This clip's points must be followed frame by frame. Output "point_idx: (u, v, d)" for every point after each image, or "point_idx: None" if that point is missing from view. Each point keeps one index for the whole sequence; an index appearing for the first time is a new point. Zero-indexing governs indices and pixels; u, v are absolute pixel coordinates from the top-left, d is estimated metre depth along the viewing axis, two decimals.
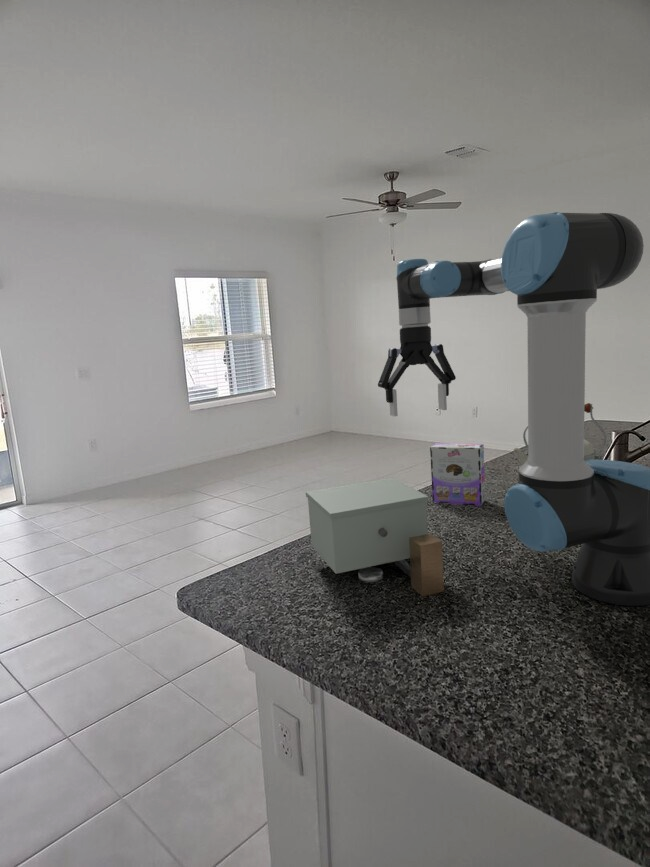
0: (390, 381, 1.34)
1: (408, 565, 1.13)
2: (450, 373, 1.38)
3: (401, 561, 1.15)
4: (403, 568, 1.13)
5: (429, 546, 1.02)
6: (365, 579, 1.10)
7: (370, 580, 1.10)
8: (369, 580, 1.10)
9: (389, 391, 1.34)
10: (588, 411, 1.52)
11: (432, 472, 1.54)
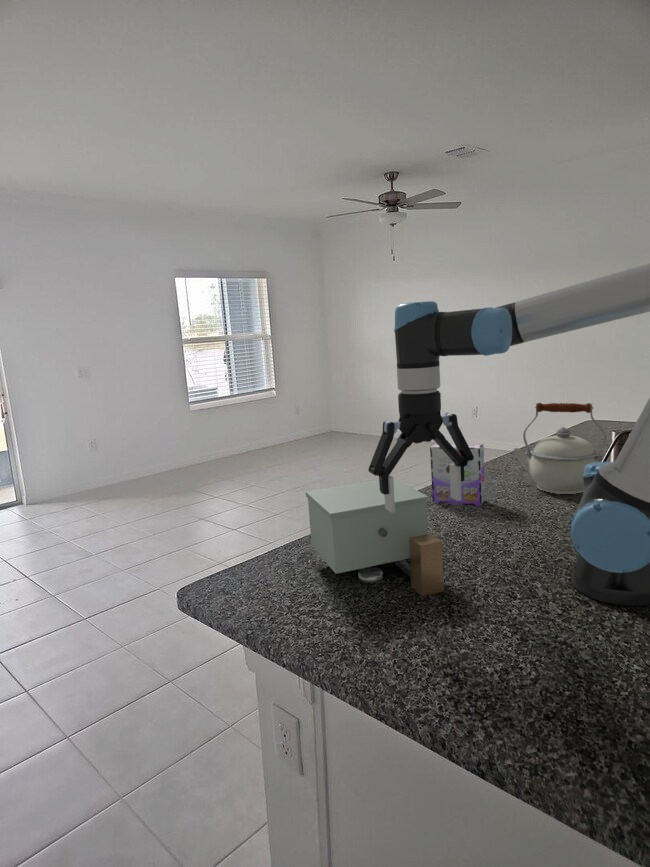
0: (385, 465, 0.99)
1: (408, 565, 1.13)
2: (466, 452, 1.03)
3: (401, 561, 1.15)
4: (403, 568, 1.13)
5: (429, 546, 1.02)
6: (365, 579, 1.10)
7: (370, 580, 1.10)
8: (369, 580, 1.10)
9: (384, 479, 0.99)
10: (588, 411, 1.52)
11: (432, 472, 1.54)
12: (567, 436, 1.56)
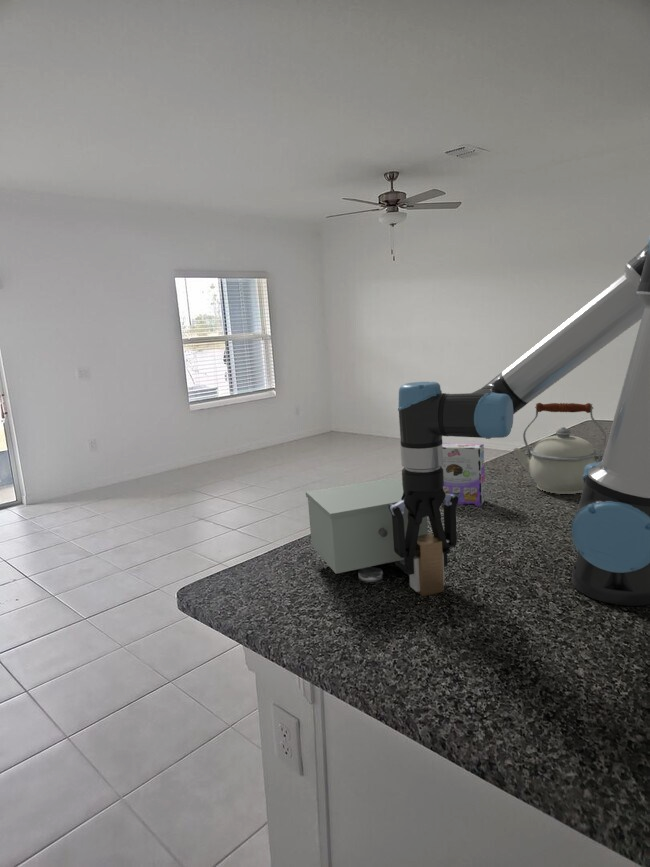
0: (407, 548, 1.02)
1: None
2: (452, 536, 1.04)
3: (401, 561, 1.15)
4: (403, 568, 1.13)
5: (429, 546, 1.02)
6: (365, 579, 1.10)
7: (370, 580, 1.10)
8: (369, 580, 1.10)
9: (409, 560, 1.02)
10: (588, 411, 1.52)
11: None
12: (567, 436, 1.56)
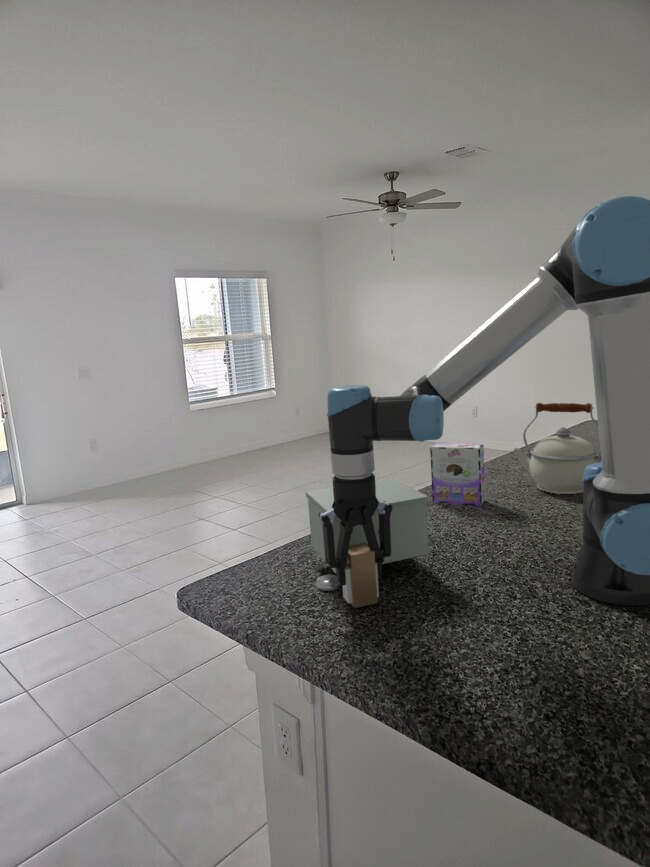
0: (338, 557, 0.98)
1: None
2: (386, 546, 1.00)
3: None
4: None
5: (360, 556, 0.98)
6: (322, 587, 1.08)
7: (327, 588, 1.08)
8: (326, 588, 1.08)
9: (340, 571, 0.99)
10: (588, 411, 1.52)
11: (432, 472, 1.54)
12: (567, 436, 1.56)
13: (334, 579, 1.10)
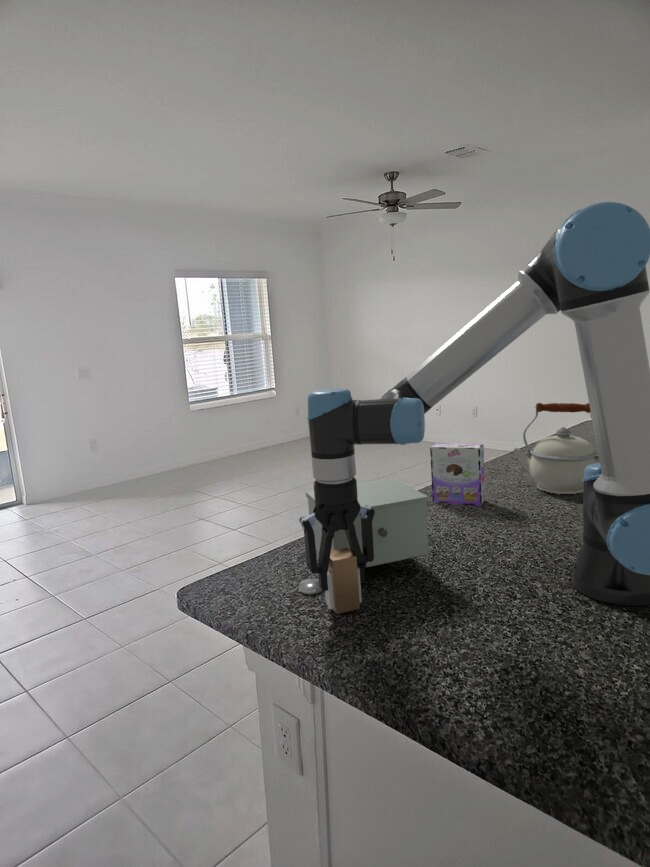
0: (320, 563, 0.97)
1: None
2: (369, 551, 0.99)
3: None
4: None
5: (342, 561, 0.96)
6: (303, 591, 1.07)
7: (308, 592, 1.07)
8: (307, 592, 1.07)
9: (322, 576, 0.97)
10: (588, 411, 1.52)
11: (432, 472, 1.54)
12: (567, 436, 1.56)
13: (317, 583, 1.09)
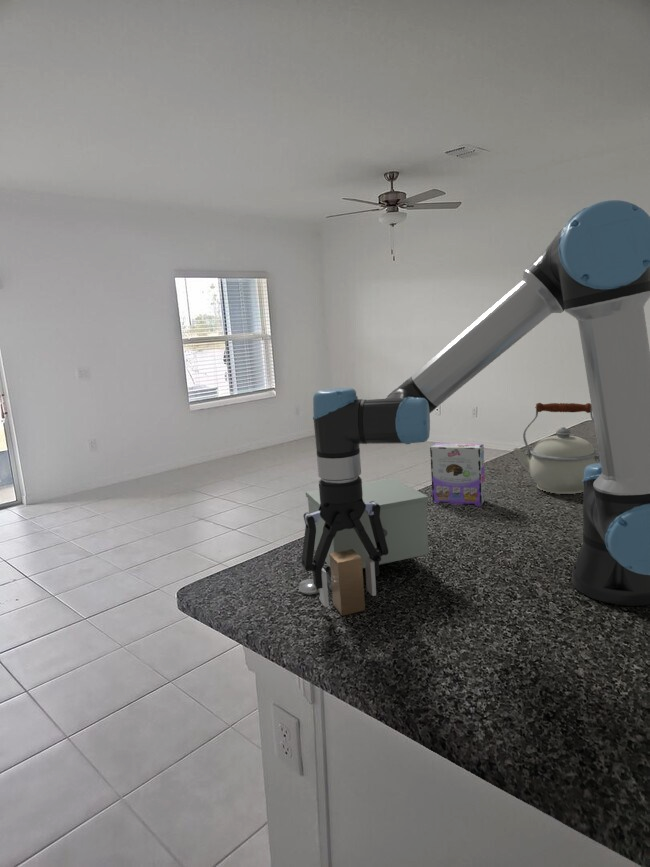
0: (316, 560, 0.97)
1: None
2: (382, 545, 1.00)
3: (328, 577, 1.10)
4: (329, 584, 1.09)
5: (347, 563, 0.97)
6: (303, 591, 1.07)
7: (308, 592, 1.07)
8: (307, 592, 1.07)
9: (317, 574, 0.97)
10: (588, 411, 1.52)
11: (432, 472, 1.54)
12: (567, 436, 1.56)
13: None
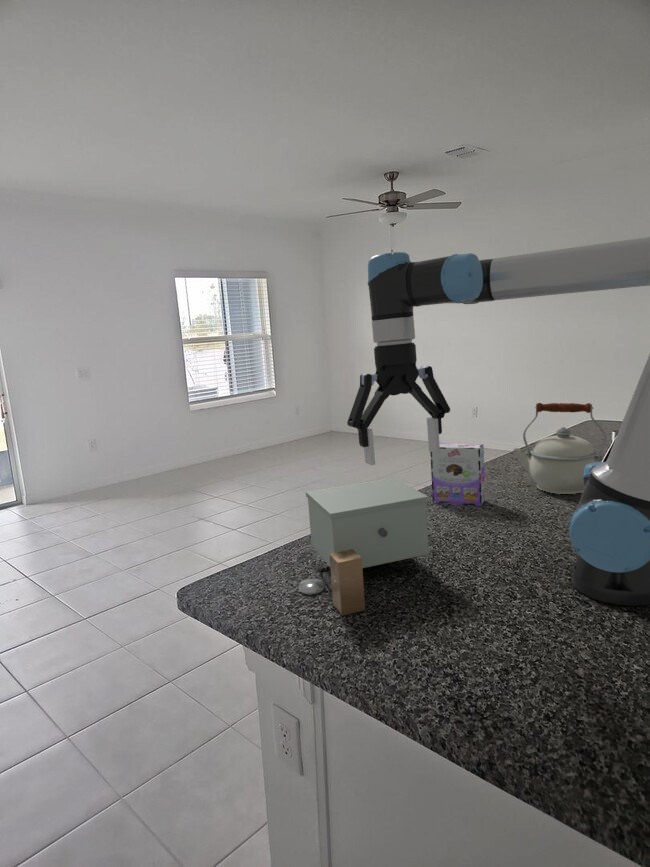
0: (364, 418, 0.99)
1: None
2: (443, 404, 1.04)
3: (328, 577, 1.10)
4: (329, 584, 1.09)
5: (348, 563, 0.97)
6: (303, 591, 1.07)
7: (308, 592, 1.07)
8: (307, 592, 1.07)
9: (363, 432, 0.99)
10: (588, 411, 1.52)
11: (432, 472, 1.54)
12: (567, 436, 1.56)
13: (317, 583, 1.09)
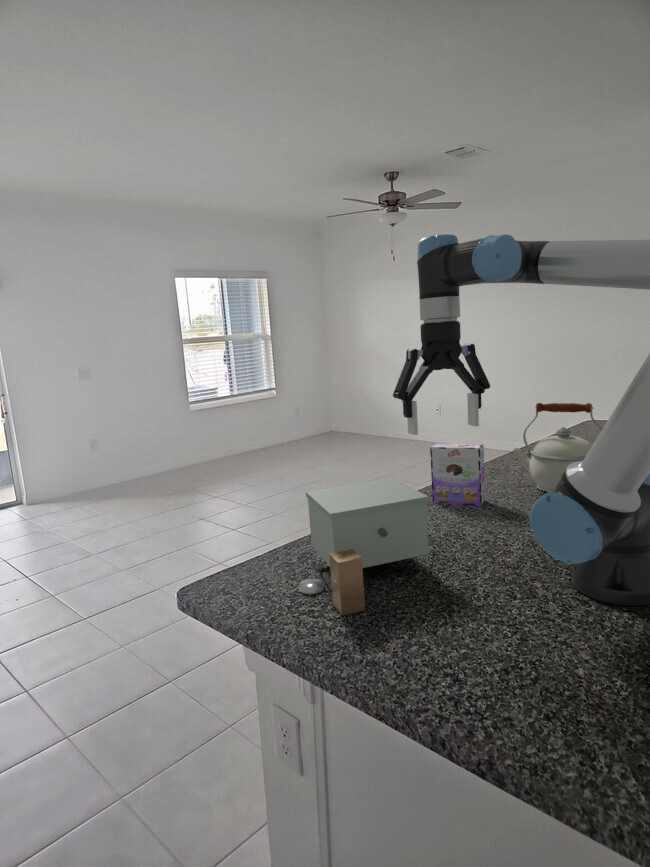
0: (409, 390, 1.06)
1: None
2: (483, 380, 1.10)
3: (328, 577, 1.10)
4: (329, 584, 1.09)
5: (348, 563, 0.97)
6: (303, 591, 1.07)
7: (308, 592, 1.07)
8: (307, 592, 1.07)
9: (407, 403, 1.06)
10: (588, 411, 1.52)
11: (432, 472, 1.54)
12: (567, 436, 1.56)
13: (317, 583, 1.09)
